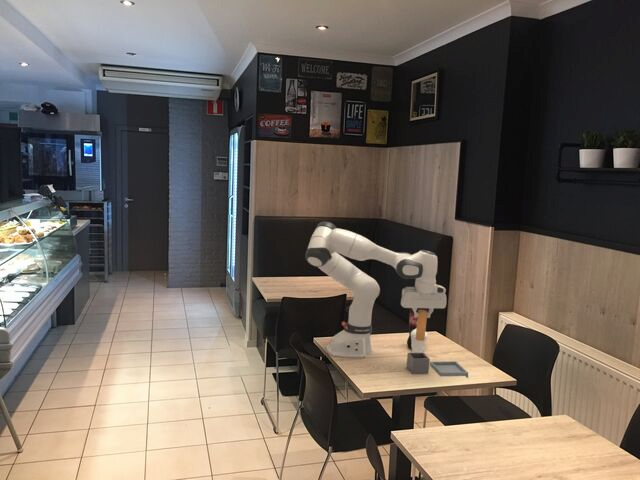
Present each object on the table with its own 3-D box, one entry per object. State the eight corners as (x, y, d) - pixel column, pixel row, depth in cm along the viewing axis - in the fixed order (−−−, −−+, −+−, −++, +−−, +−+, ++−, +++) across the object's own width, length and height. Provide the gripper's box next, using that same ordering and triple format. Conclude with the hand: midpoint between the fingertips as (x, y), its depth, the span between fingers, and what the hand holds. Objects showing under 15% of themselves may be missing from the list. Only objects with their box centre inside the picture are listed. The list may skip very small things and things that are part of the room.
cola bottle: (403, 346, 273) (408, 289, 269) (418, 345, 276) (423, 289, 271) (411, 352, 265) (416, 293, 261) (426, 351, 268) (431, 293, 263)
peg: (417, 340, 235) (420, 312, 233) (414, 337, 239) (416, 309, 236) (425, 340, 235) (428, 312, 233) (422, 337, 239) (425, 309, 237)
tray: (440, 378, 235) (440, 372, 234) (429, 366, 247) (429, 361, 247) (467, 377, 237) (468, 372, 237) (455, 366, 250) (456, 361, 249)
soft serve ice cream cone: (420, 361, 253) (423, 329, 251) (405, 356, 258) (408, 325, 256) (428, 356, 260) (431, 325, 258) (413, 352, 265) (416, 321, 263)
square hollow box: (411, 376, 235) (413, 359, 234) (406, 369, 242) (407, 352, 241) (428, 375, 236) (429, 358, 235) (421, 369, 244) (423, 352, 243)
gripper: (404, 288, 228) (402, 319, 231) (449, 289, 232) (446, 319, 234) (400, 284, 235) (397, 314, 237) (443, 285, 238) (440, 315, 240)
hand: (422, 317), depth 235 cm, fingers closed on peg, 4 cm apart
